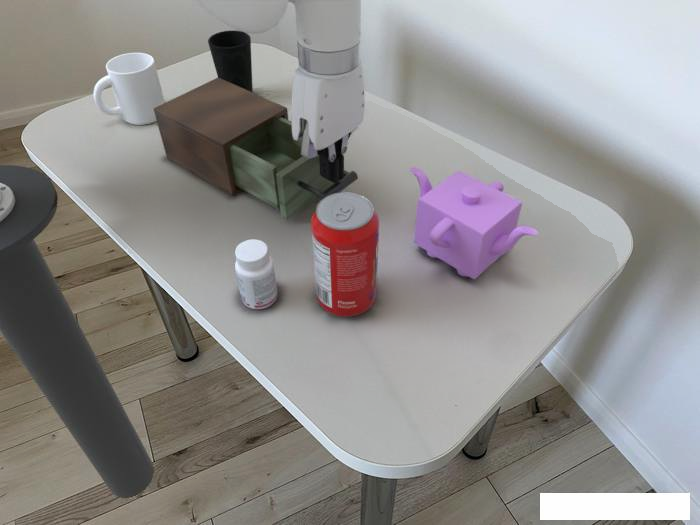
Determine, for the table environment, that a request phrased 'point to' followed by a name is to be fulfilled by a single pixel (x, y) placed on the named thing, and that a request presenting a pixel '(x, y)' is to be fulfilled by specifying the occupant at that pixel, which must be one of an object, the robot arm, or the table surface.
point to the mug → (132, 88)
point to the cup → (232, 57)
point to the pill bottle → (255, 274)
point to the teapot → (466, 222)
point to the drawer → (280, 169)
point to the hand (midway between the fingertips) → (331, 177)
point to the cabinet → (212, 128)
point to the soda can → (345, 253)
